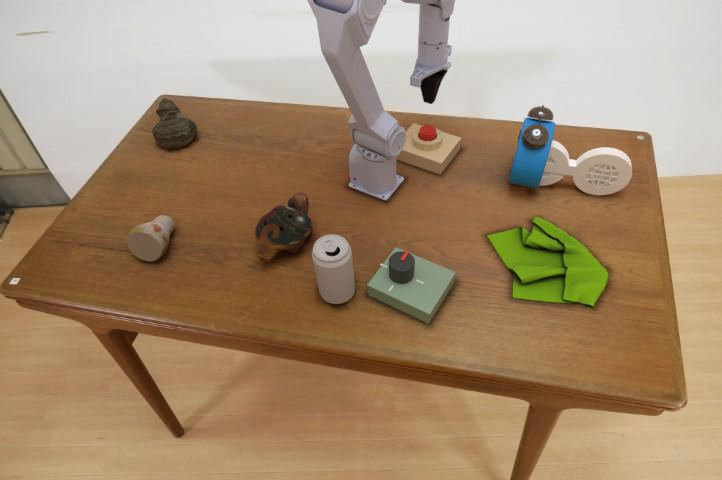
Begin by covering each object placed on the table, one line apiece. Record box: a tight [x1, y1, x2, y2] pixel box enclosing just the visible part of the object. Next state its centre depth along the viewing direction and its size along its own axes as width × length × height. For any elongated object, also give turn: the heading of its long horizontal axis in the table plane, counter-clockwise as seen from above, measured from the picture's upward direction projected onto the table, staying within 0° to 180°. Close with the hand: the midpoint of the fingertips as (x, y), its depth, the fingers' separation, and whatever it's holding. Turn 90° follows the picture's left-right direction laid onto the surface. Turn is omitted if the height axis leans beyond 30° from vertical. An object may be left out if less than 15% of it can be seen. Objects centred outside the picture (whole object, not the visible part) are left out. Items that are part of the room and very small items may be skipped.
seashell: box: [151, 97, 198, 150], centre depth 112 cm, size 11×12×10 cm
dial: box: [389, 250, 415, 284], centre depth 82 cm, size 4×4×4 cm
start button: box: [419, 124, 437, 141], centre depth 104 cm, size 4×4×2 cm
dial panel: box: [366, 246, 457, 325], centre depth 84 cm, size 12×10×3 cm
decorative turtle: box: [254, 191, 313, 263], centre depth 90 cm, size 10×15×8 cm, turn 155°
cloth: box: [486, 216, 610, 307], centre depth 87 cm, size 20×22×2 cm
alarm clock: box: [508, 104, 556, 192], centre depth 96 cm, size 13×6×15 cm, turn 160°
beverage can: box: [311, 233, 356, 305], centre depth 81 cm, size 6×6×12 cm
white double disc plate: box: [539, 139, 633, 196], centre depth 96 cm, size 22×2×10 cm, turn 73°
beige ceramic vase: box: [125, 214, 176, 262], centre depth 92 cm, size 8×10×10 cm
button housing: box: [396, 122, 462, 175], centre depth 107 cm, size 12×10×5 cm
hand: (429, 101), depth 103 cm, fingers closed
